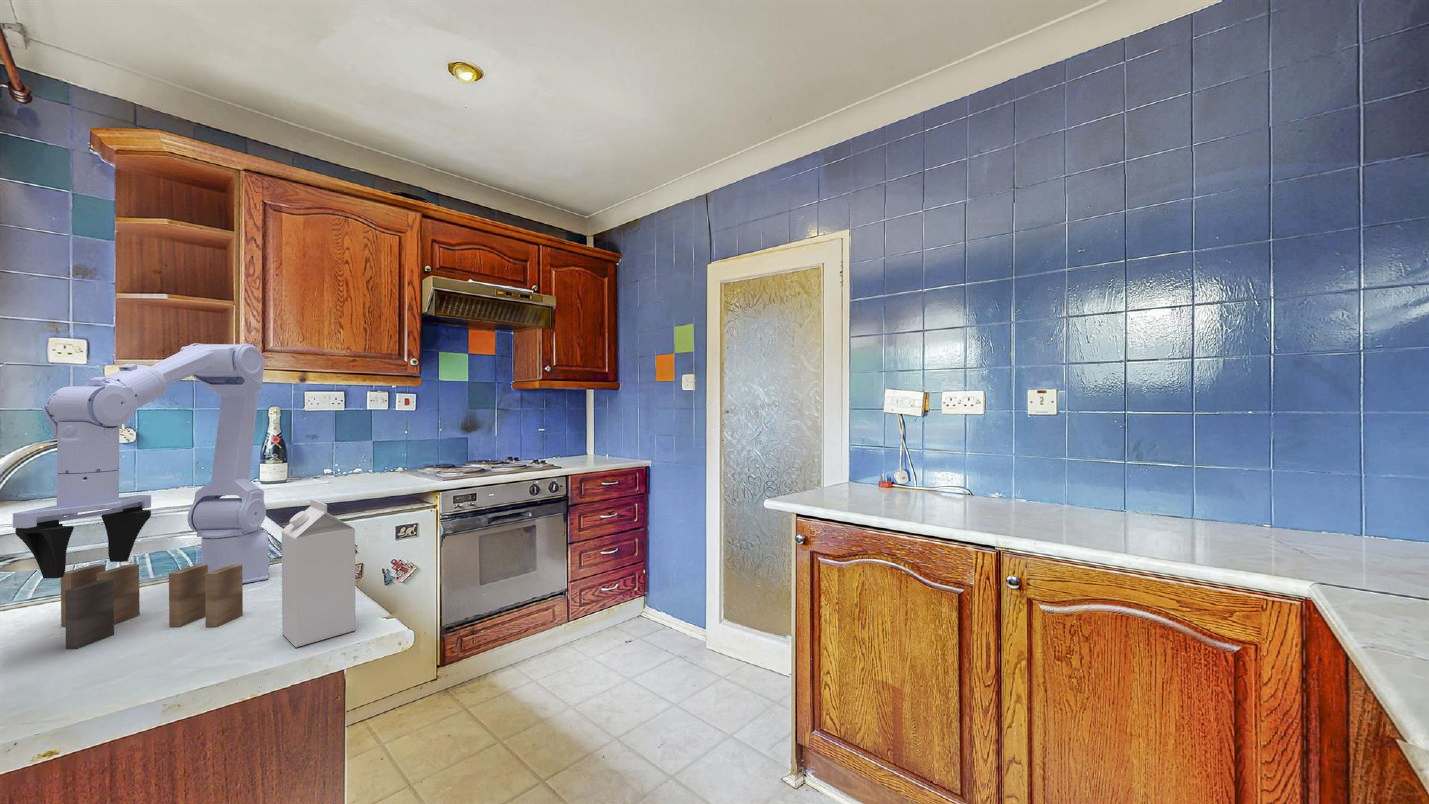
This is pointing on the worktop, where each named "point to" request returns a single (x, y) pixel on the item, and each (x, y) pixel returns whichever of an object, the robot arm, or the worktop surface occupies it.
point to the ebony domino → (89, 613)
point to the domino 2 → (124, 591)
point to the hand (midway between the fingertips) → (87, 569)
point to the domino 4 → (223, 595)
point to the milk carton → (317, 576)
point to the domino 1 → (77, 582)
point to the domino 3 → (187, 595)
